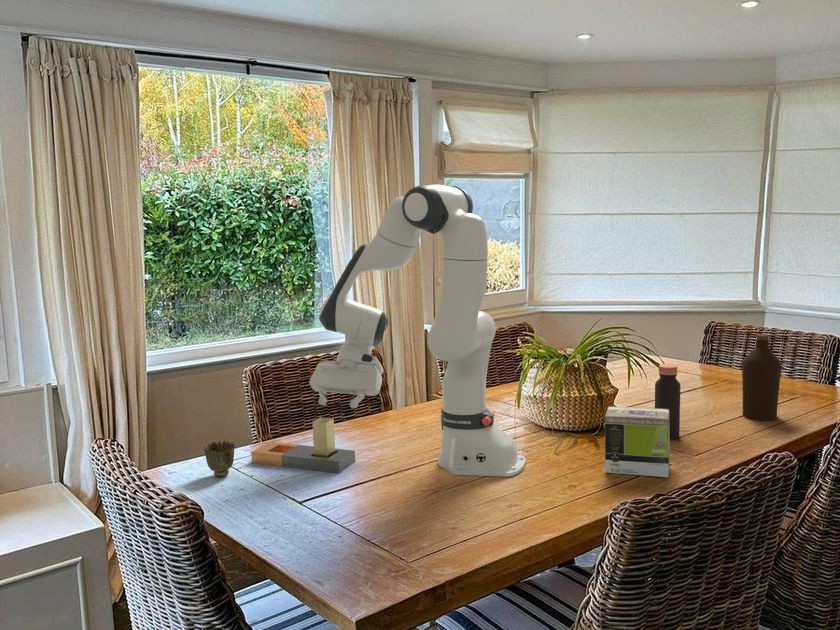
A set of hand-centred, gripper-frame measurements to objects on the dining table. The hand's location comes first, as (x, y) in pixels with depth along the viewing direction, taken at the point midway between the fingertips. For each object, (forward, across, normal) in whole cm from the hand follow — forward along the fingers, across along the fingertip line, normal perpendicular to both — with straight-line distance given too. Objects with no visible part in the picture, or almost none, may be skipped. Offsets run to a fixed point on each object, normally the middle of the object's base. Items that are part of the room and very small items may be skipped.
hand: (337, 405), depth 203 cm
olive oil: (-40, +106, +58) cm, 128 cm away
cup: (+26, -21, -7) cm, 35 cm away
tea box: (+1, +77, +18) cm, 79 cm away
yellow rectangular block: (+15, 0, +4) cm, 16 cm away
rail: (+16, -6, +4) cm, 17 cm away
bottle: (-20, +82, +39) cm, 93 cm away
